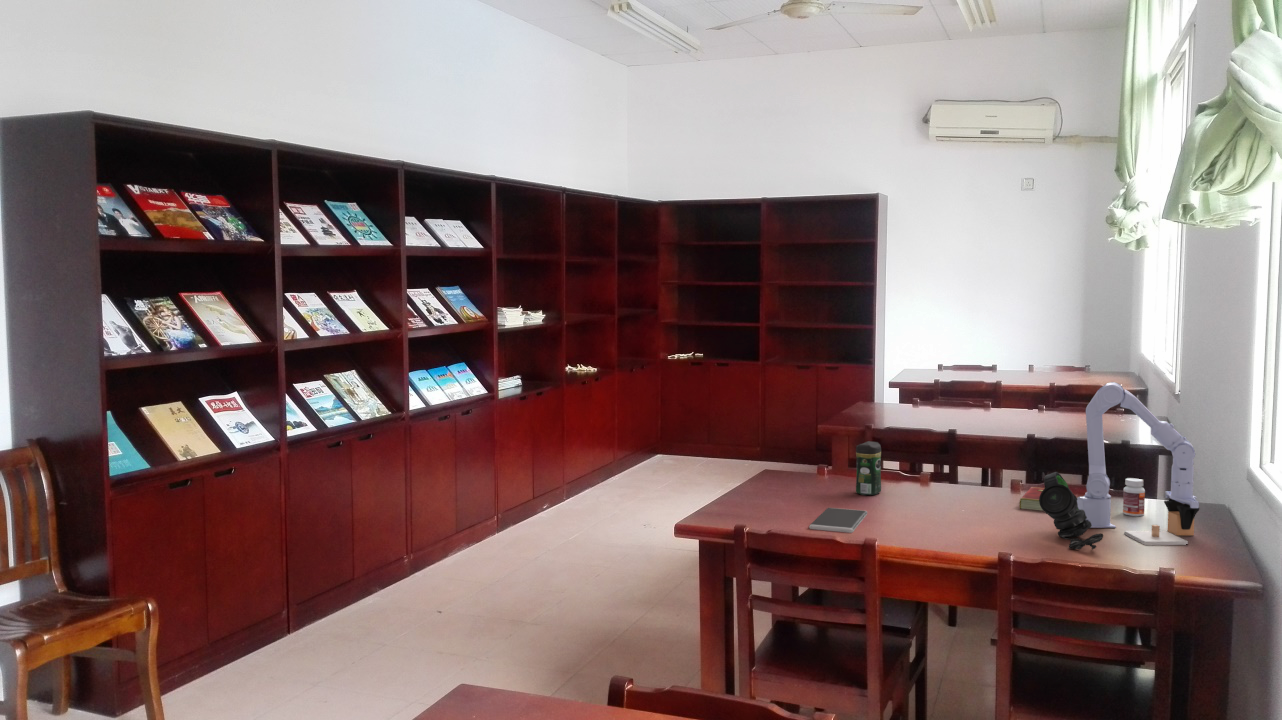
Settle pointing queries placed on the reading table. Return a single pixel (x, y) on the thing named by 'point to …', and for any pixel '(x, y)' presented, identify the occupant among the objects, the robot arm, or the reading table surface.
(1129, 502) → the pill bottle
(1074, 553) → the reading table surface
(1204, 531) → the reading table surface
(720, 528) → the reading table surface
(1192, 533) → the tan wooden cube
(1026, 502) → the hardcover book
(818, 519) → the smartphone
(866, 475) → the coffee jar
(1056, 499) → the headset
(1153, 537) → the post plate
